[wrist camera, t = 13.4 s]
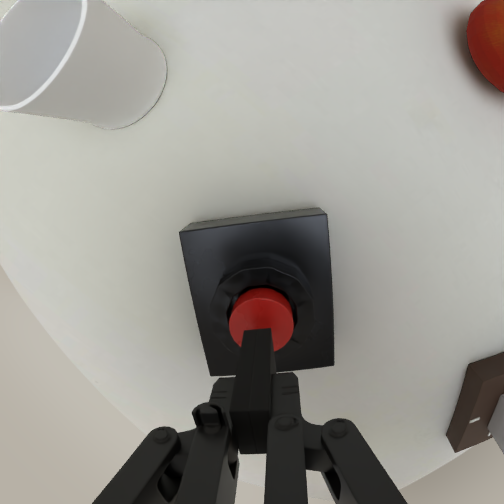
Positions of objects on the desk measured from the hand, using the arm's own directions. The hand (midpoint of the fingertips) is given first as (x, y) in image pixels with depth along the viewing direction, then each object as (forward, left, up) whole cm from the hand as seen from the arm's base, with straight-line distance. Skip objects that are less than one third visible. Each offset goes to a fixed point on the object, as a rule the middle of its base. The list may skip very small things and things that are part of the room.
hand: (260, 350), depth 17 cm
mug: (+19, +11, -9) cm, 24 cm away
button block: (0, 0, -9) cm, 9 cm away
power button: (0, 0, -4) cm, 4 cm away
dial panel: (-18, -26, -9) cm, 33 cm away
